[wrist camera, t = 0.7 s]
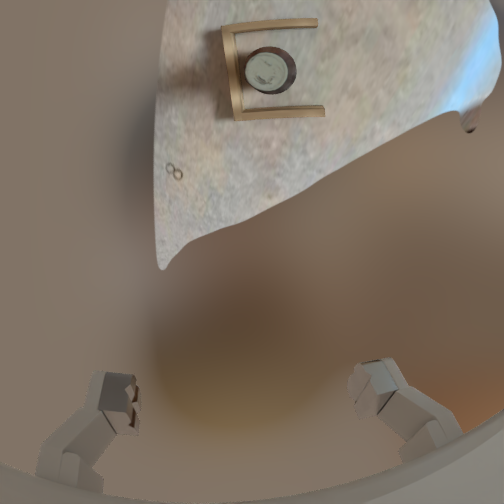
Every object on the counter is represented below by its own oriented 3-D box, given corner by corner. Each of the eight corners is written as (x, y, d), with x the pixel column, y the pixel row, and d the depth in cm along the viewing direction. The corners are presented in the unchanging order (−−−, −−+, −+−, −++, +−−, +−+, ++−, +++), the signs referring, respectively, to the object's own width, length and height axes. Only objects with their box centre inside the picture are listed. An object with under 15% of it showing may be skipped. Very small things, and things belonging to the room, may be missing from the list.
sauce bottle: (265, 92, 42) (246, 117, 26) (246, 60, 39) (214, 63, 23) (302, 77, 39) (308, 90, 24) (284, 43, 36) (278, 32, 21)
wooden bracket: (323, 112, 42) (325, 116, 40) (238, 116, 45) (234, 121, 42) (315, 21, 33) (317, 18, 30) (226, 28, 35) (220, 26, 33)
